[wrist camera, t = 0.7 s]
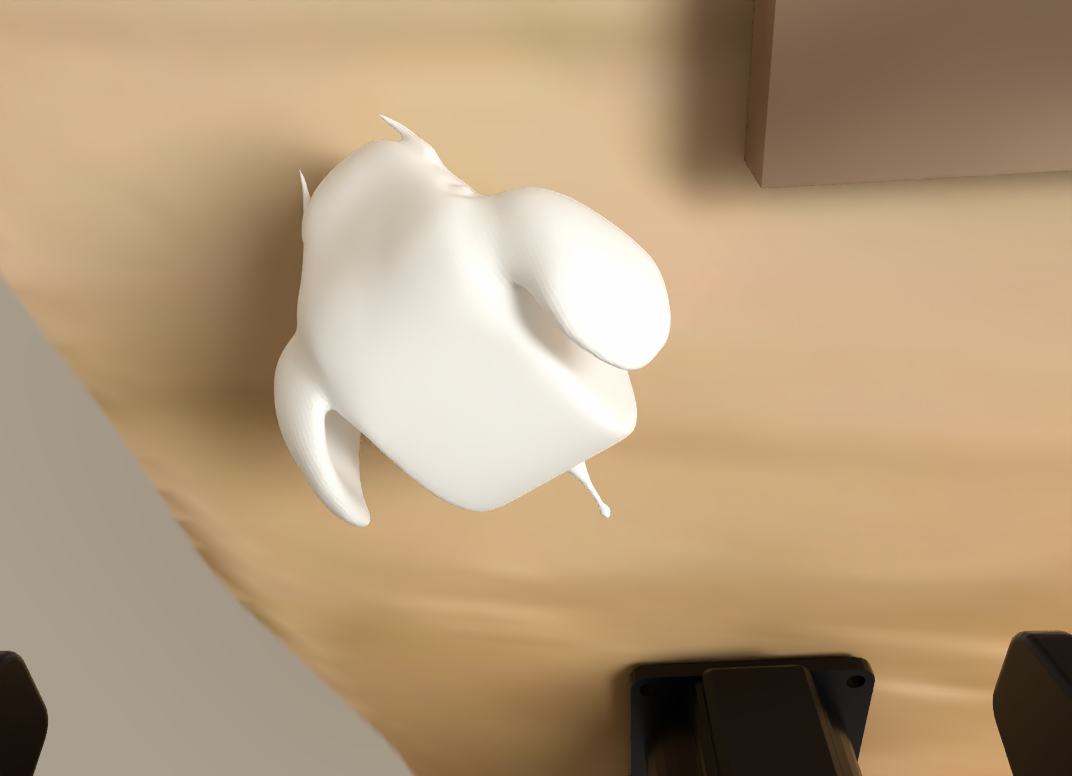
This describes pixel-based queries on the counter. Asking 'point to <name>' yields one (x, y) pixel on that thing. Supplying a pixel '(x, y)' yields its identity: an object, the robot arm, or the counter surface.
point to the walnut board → (908, 90)
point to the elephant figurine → (459, 332)
